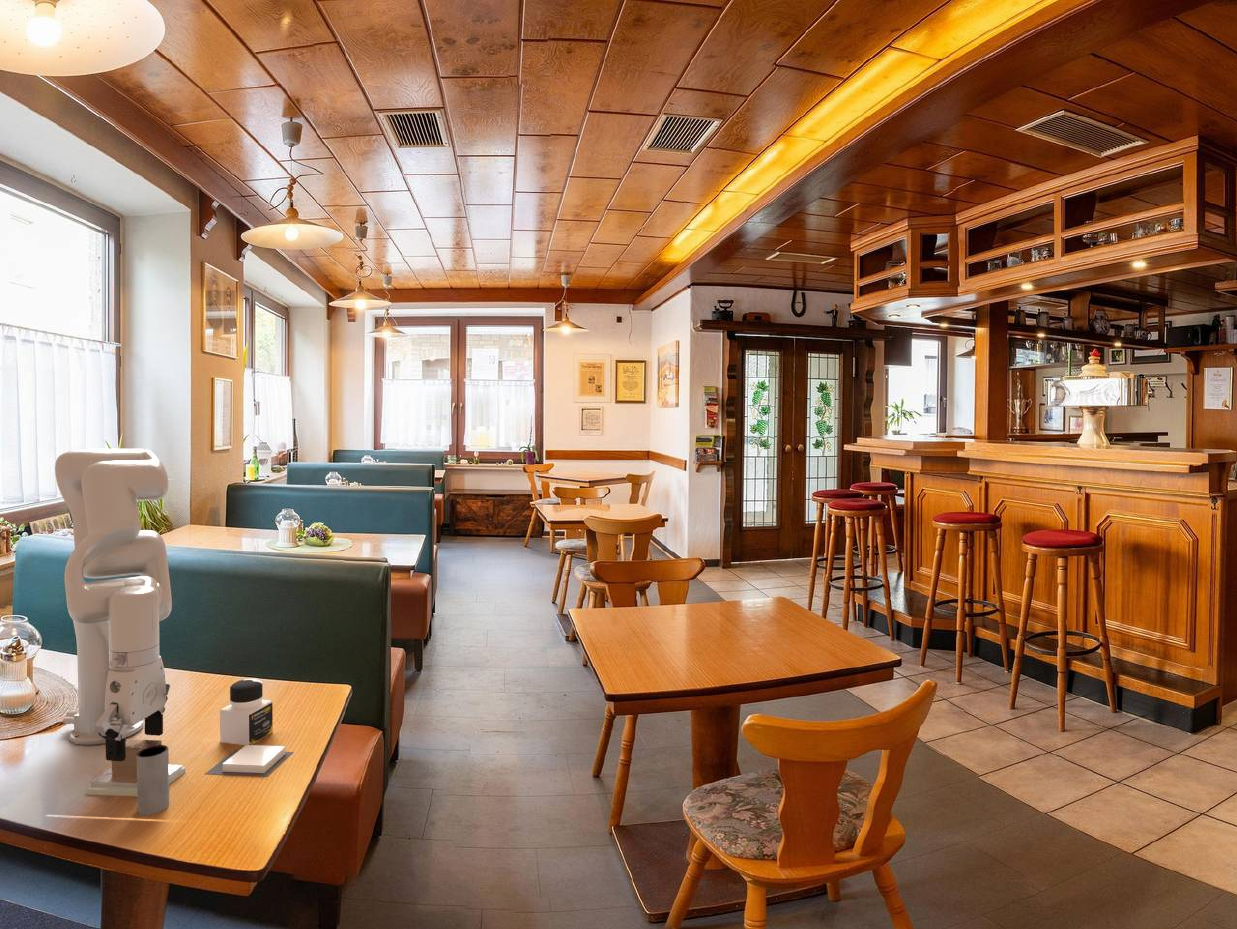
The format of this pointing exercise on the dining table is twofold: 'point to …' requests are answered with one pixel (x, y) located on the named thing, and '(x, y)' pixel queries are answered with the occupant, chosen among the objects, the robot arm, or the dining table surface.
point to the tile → (254, 759)
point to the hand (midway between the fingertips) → (135, 746)
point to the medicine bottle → (246, 714)
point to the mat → (219, 771)
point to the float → (128, 767)
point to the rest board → (122, 788)
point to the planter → (152, 779)
